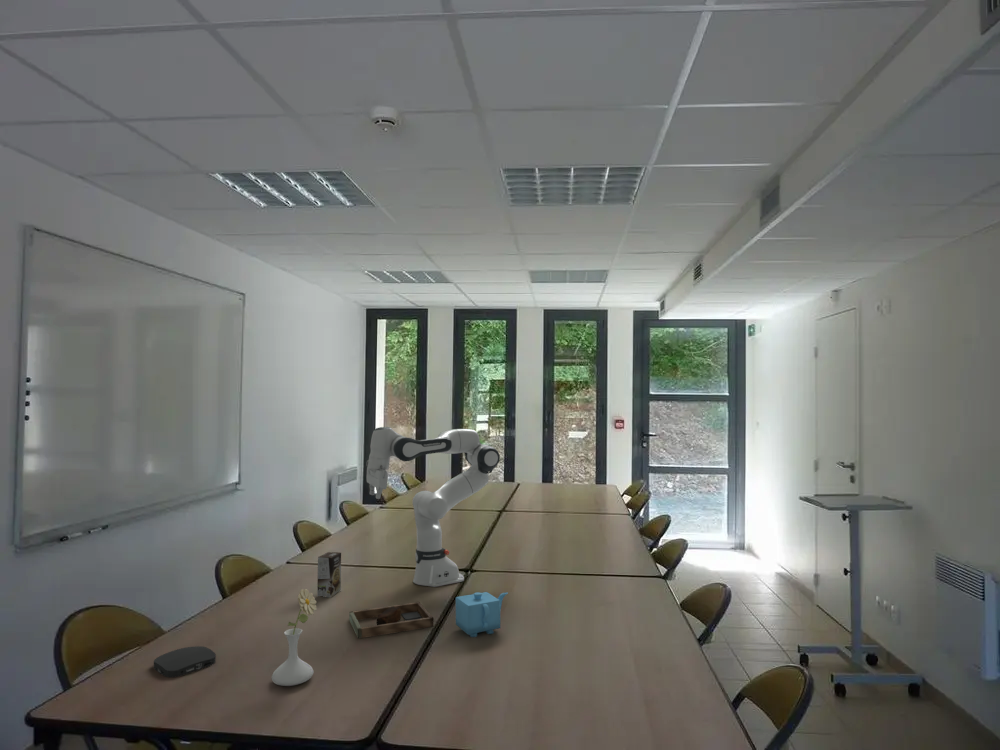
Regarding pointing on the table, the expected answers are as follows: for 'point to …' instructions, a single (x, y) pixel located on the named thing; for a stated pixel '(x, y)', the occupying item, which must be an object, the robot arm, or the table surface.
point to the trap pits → (411, 616)
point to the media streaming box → (184, 661)
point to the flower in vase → (294, 667)
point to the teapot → (478, 613)
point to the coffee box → (329, 574)
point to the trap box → (390, 627)
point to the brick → (389, 616)
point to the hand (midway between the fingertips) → (374, 496)
